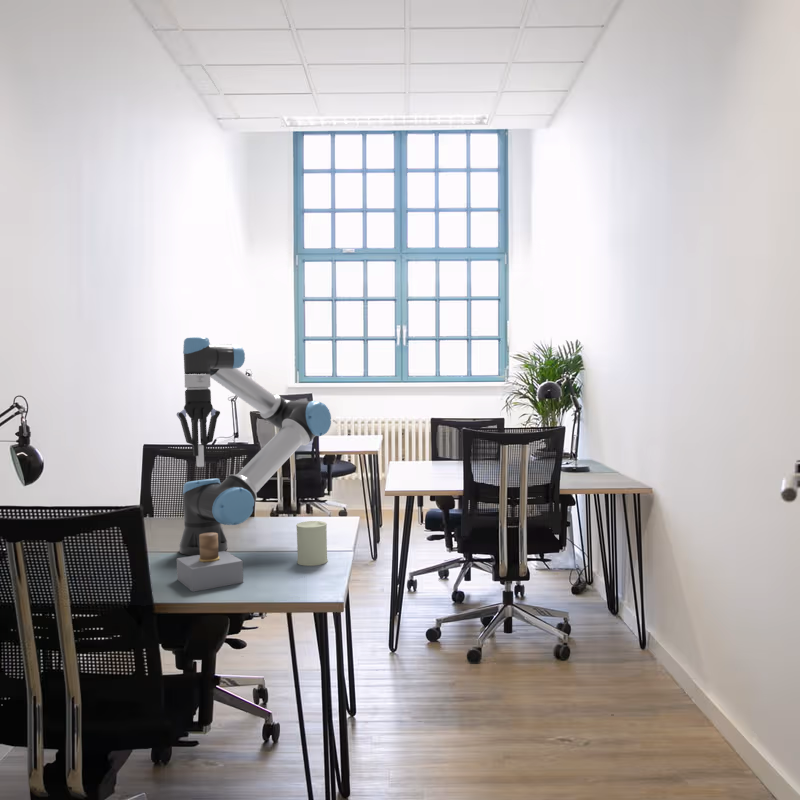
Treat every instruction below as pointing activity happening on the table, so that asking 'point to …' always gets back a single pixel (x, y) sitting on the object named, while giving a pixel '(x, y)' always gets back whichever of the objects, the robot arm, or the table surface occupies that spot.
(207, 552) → the walnut peg
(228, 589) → the table surface
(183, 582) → the socket block
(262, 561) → the table surface
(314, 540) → the can
